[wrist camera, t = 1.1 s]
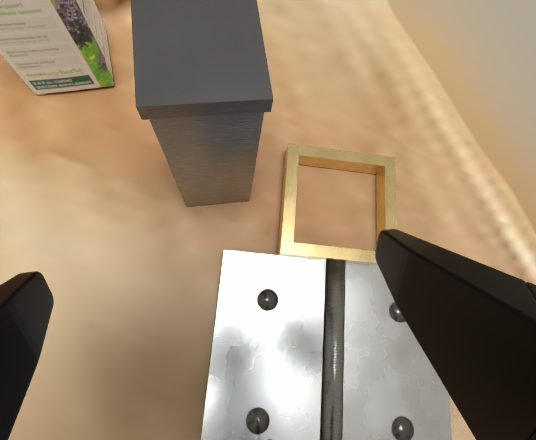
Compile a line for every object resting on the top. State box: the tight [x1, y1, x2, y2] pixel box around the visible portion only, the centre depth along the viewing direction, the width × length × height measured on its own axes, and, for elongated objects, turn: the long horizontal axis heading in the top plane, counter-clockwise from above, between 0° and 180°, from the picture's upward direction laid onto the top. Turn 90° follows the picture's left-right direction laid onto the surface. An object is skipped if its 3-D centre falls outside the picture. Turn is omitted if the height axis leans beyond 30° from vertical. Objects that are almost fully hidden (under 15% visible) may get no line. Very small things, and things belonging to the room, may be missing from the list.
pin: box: [131, 0, 273, 207], centre depth 18 cm, size 5×5×12 cm
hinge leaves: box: [201, 144, 452, 440], centre depth 22 cm, size 21×15×2 cm
